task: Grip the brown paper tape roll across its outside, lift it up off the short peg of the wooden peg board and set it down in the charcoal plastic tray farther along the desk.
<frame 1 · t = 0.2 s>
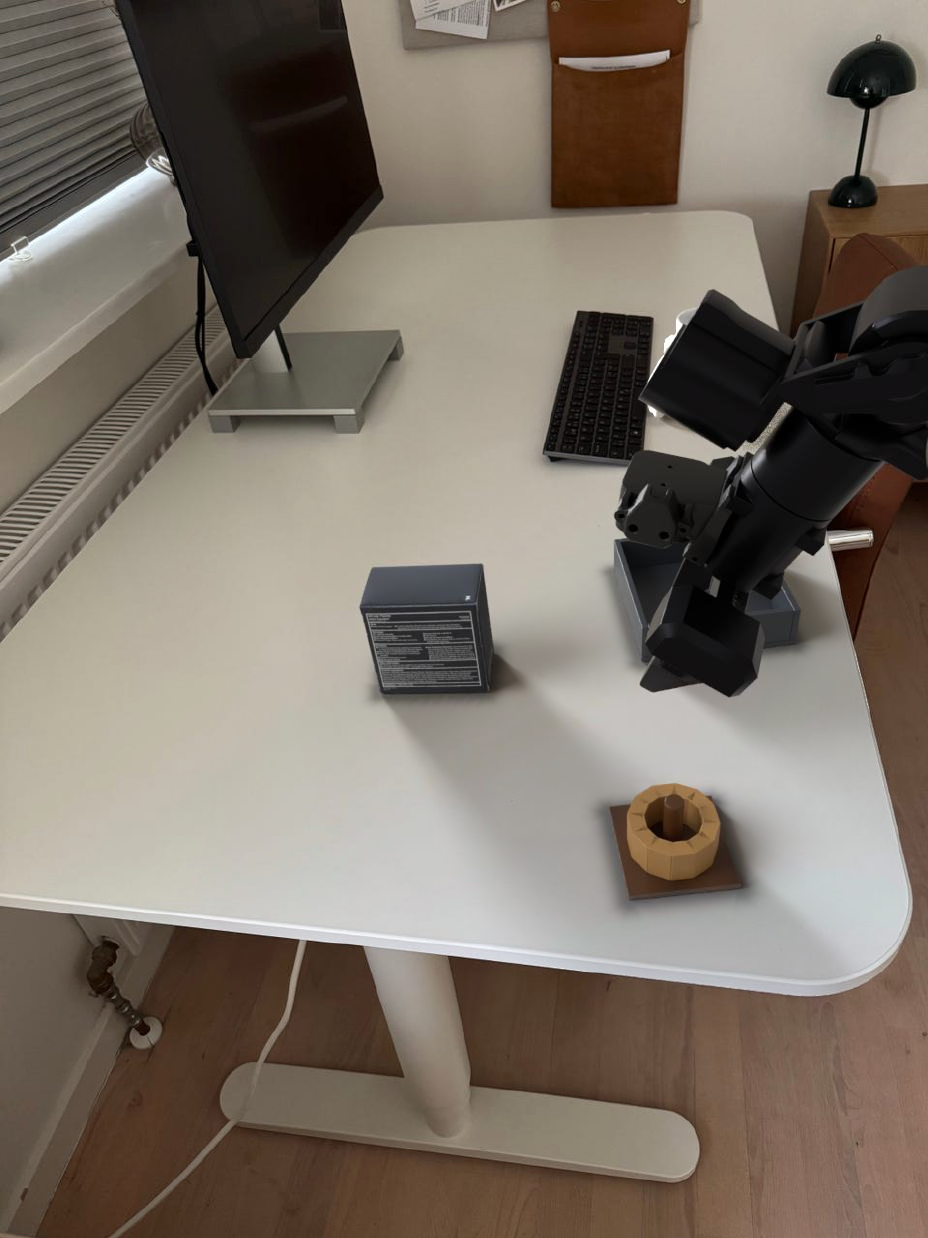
hand: (660, 641, 62), 15 cm above the table, tool tilted 30°, fingers open, 9 cm apart
tray: (698, 605, 88), on the table
teacup: (700, 351, 132), on the table
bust: (671, 406, 120), on the table
small box: (438, 671, 85), on the table
wooden peg board: (671, 848, 67), on the table
tape: (671, 843, 66), point 1 cm above the table, touching wooden peg board
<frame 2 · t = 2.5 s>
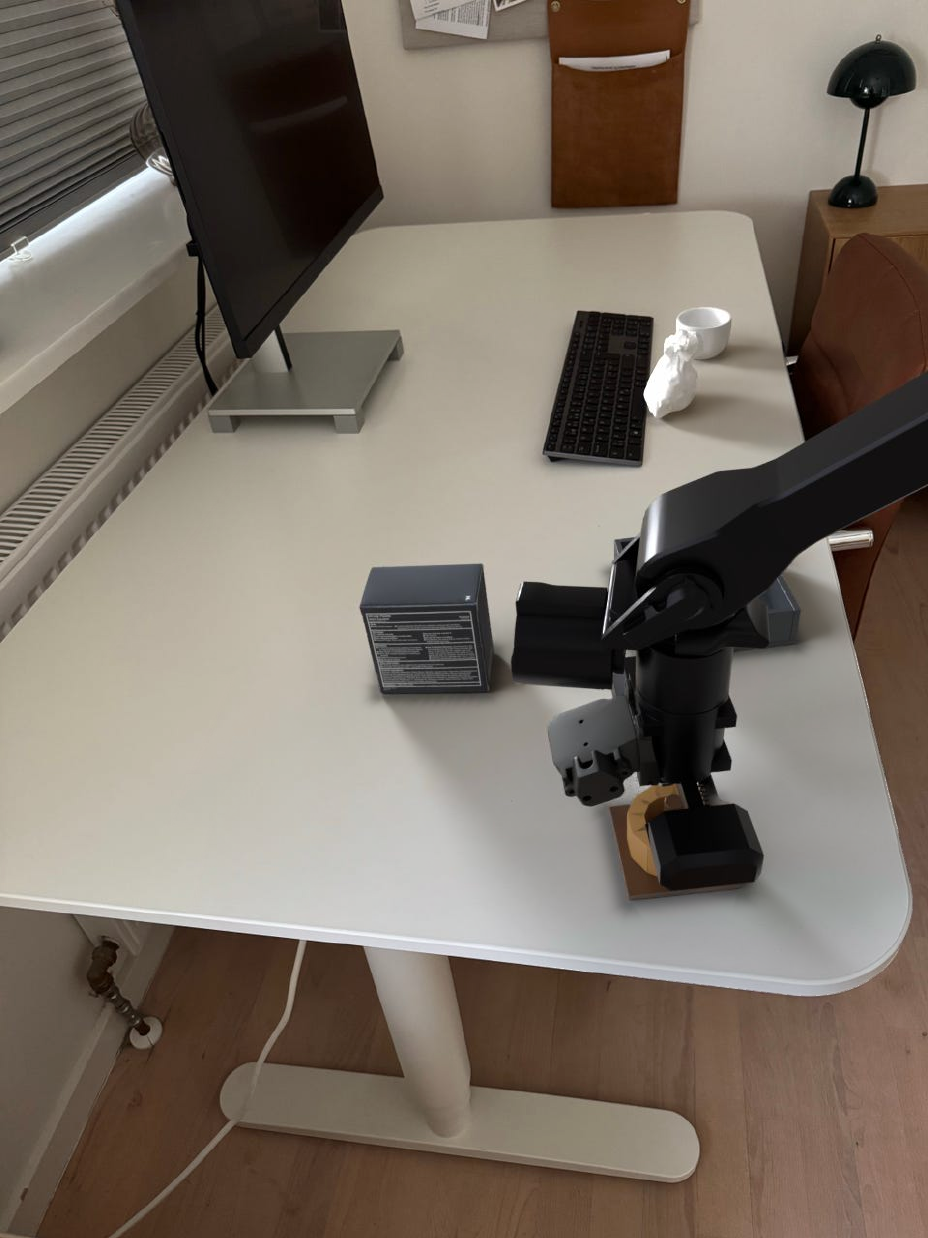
hand: (672, 834, 66), 2 cm above the table, tool pointing down, fingers closed on tape, 6 cm apart
tape: (671, 843, 66), point 1 cm above the table, touching gripper, wooden peg board
everything else where it was.
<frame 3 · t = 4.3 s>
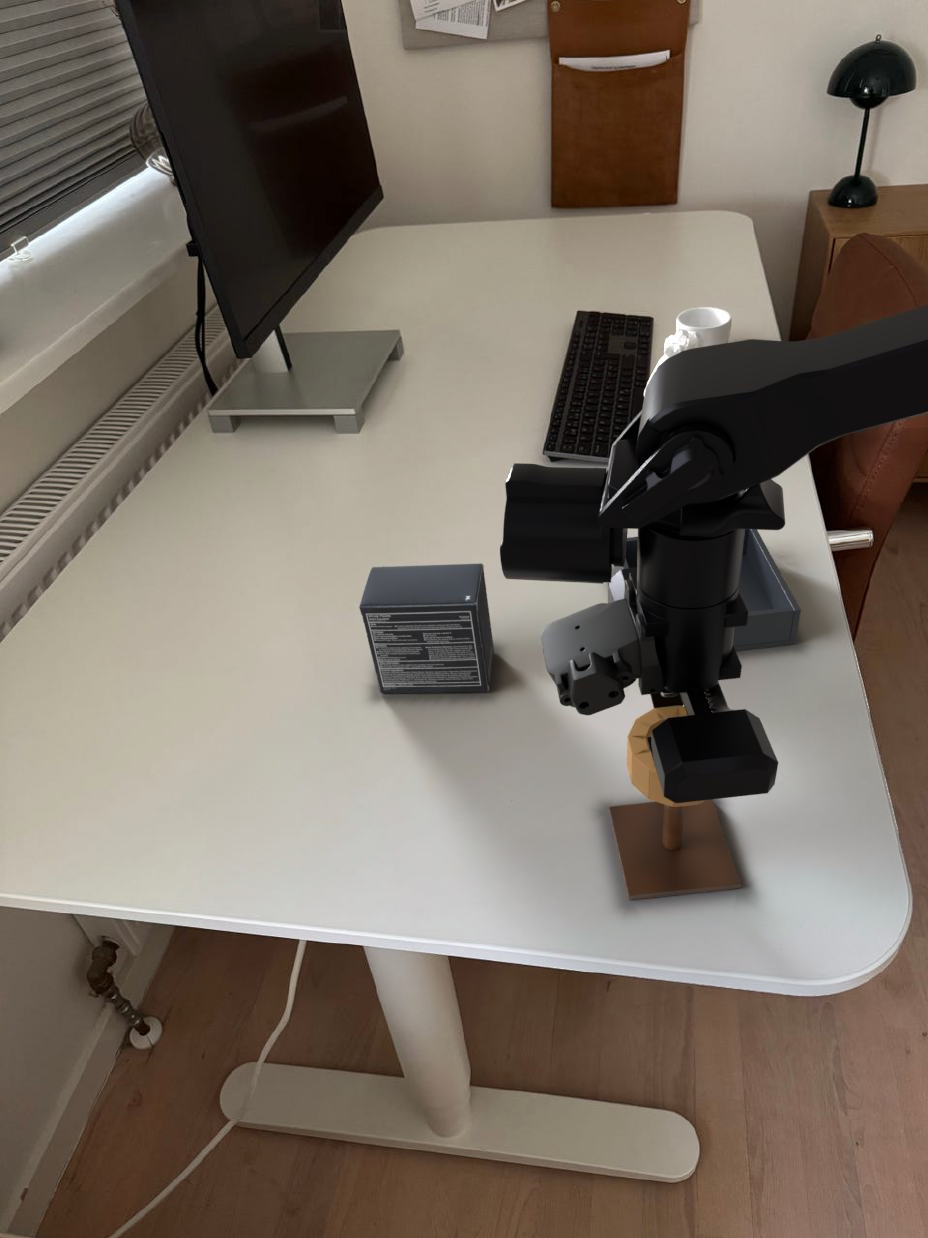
hand: (676, 759, 61), 10 cm above the table, tool pointing down, fingers closed on tape, 6 cm apart
tape: (675, 769, 62), point 9 cm above the table, touching gripper
everything else where it was.
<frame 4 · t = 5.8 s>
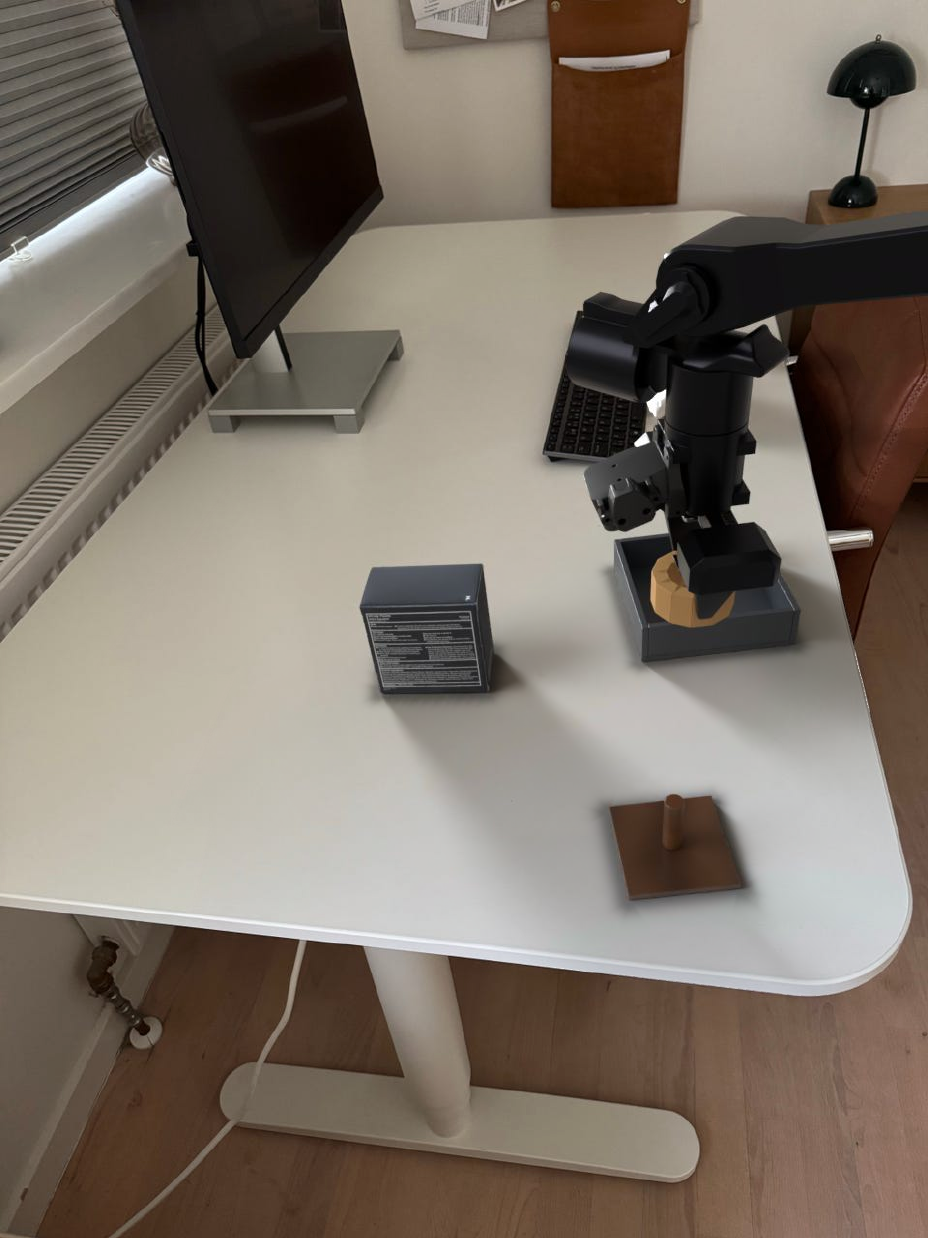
hand: (693, 591, 72), 11 cm above the table, tool pointing down, fingers closed on tape, 6 cm apart
tape: (691, 601, 73), point 10 cm above the table, touching gripper
everything else where it was.
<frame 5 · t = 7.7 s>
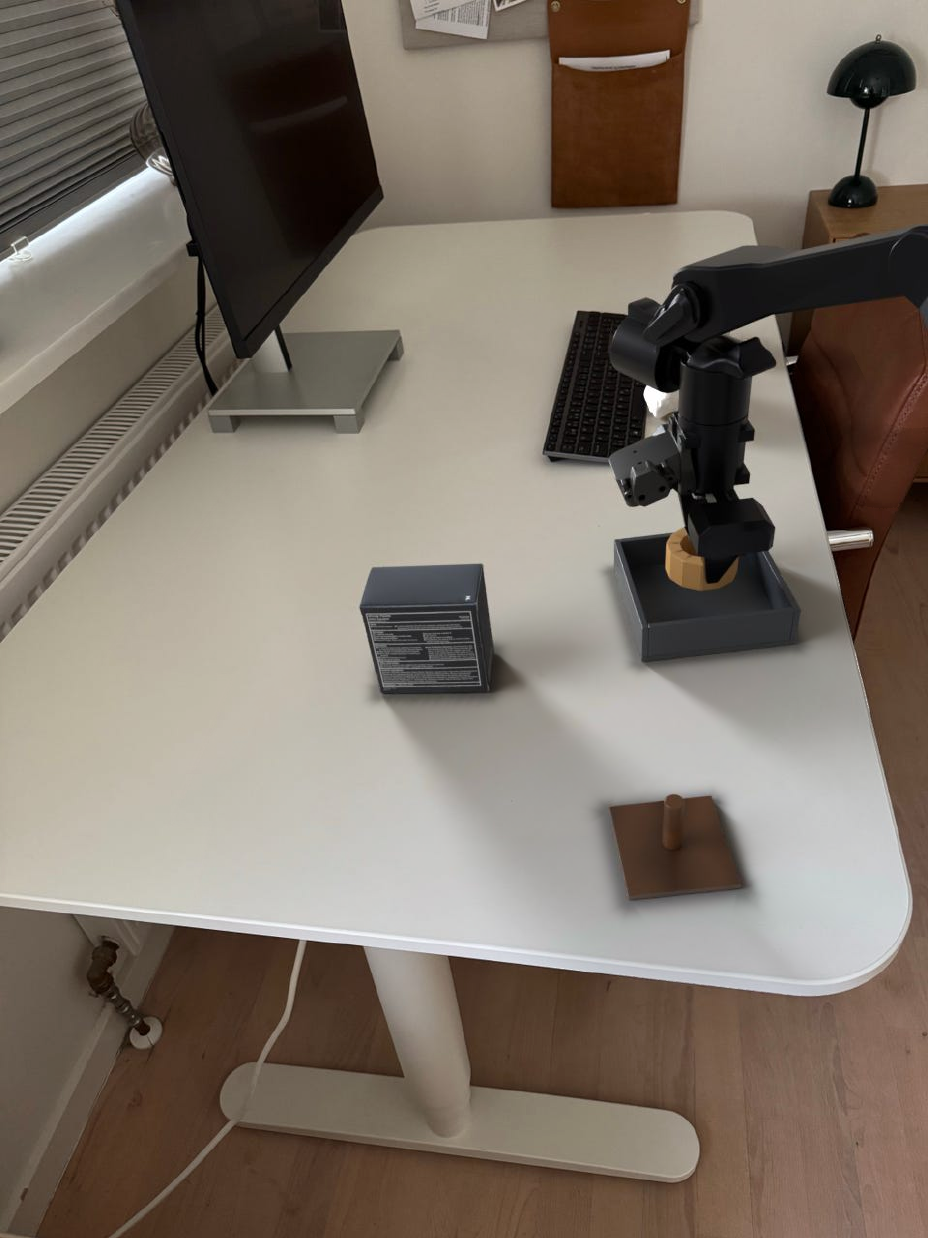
hand: (702, 560, 84), 5 cm above the table, tool pointing down, fingers closed on tape, 6 cm apart
tape: (700, 569, 85), point 4 cm above the table, touching gripper
everything else where it was.
when the fingers open (2 cm above the table, at t = 9.1 s): tape stays where it is, resting on tray.
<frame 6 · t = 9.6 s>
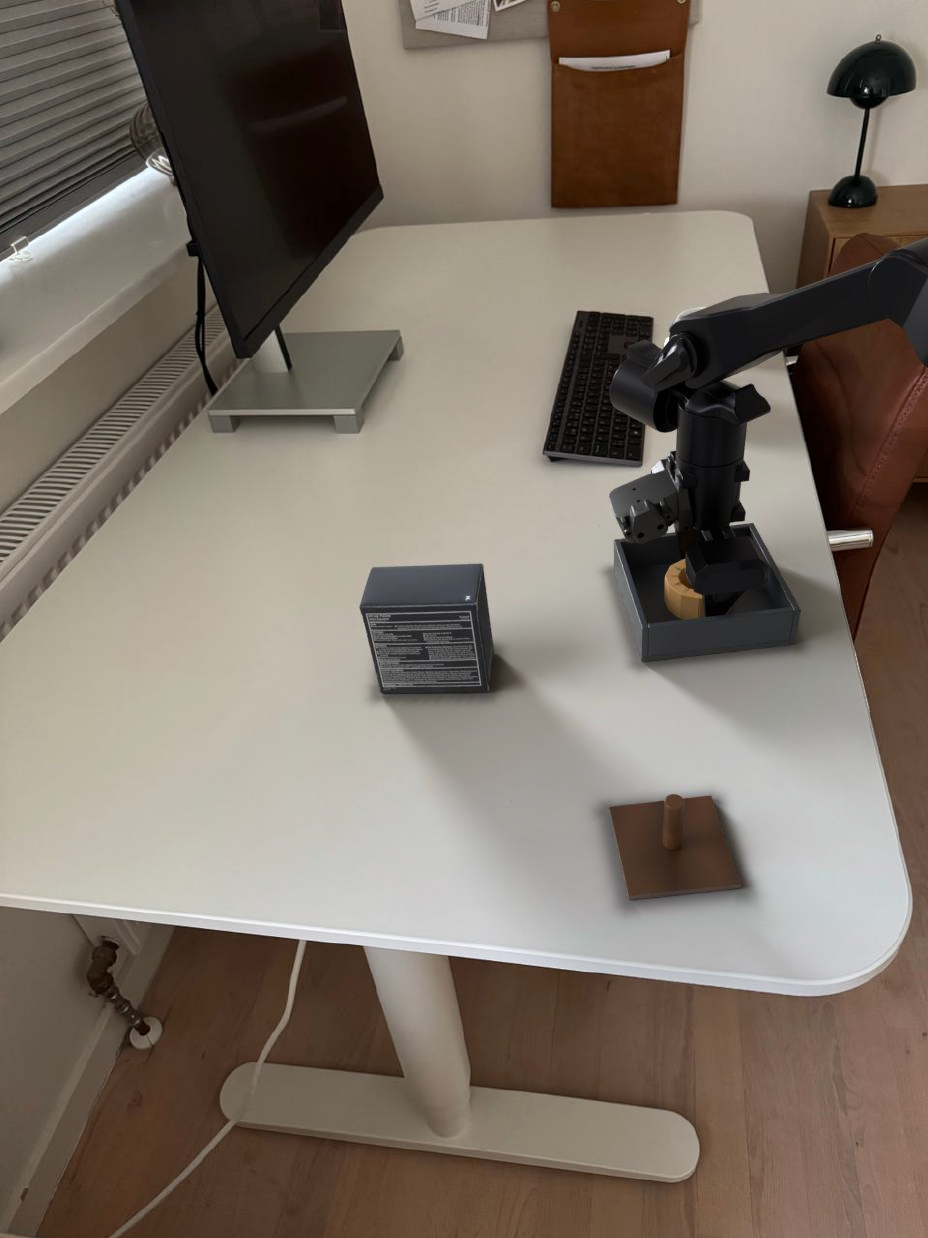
hand: (699, 592, 87), 2 cm above the table, tool pointing down, fingers open, 9 cm apart
tape: (698, 601, 87), point 1 cm above the table, touching tray
everything else where it was.
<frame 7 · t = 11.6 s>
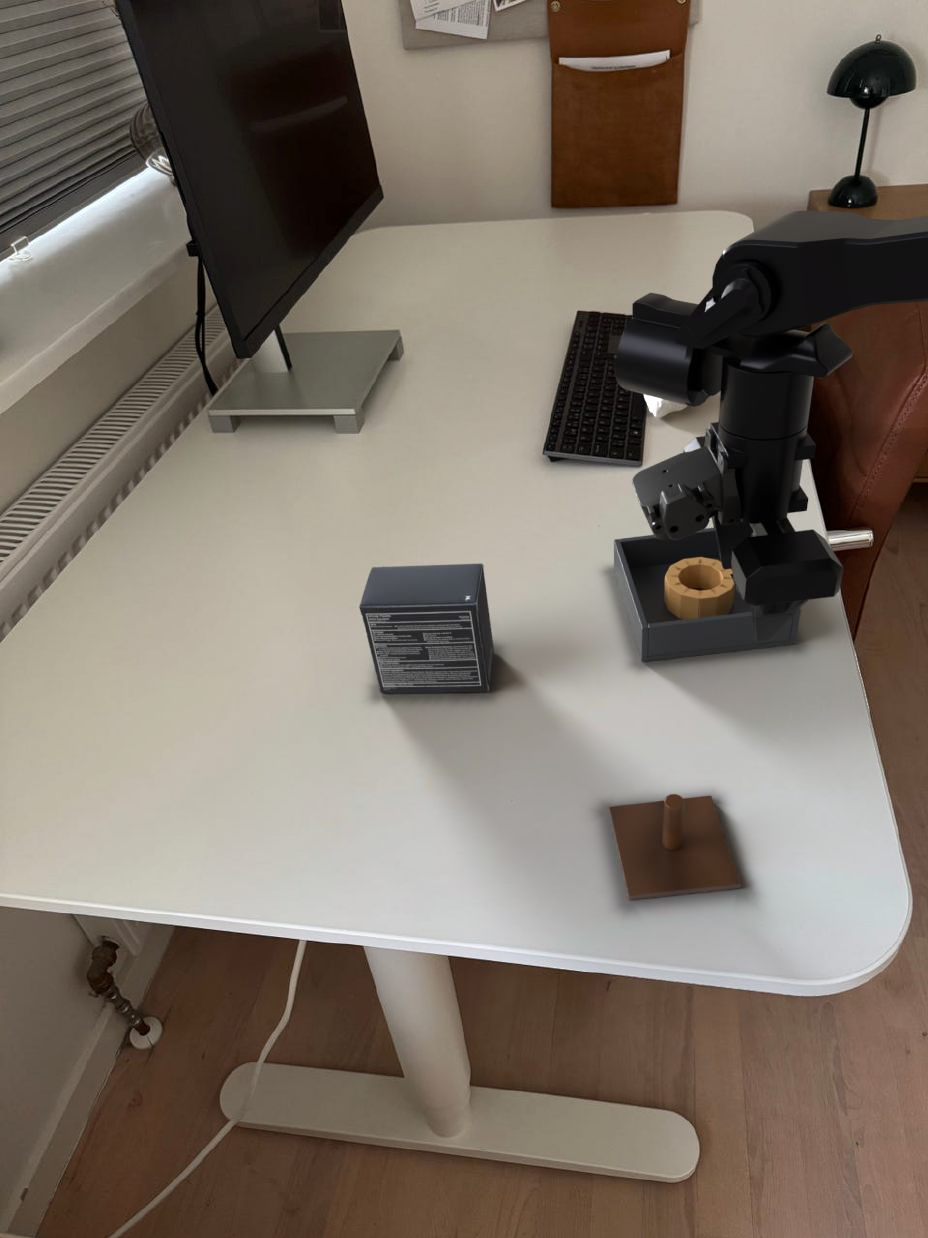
hand: (745, 602, 70), 12 cm above the table, tool pointing down, fingers open, 9 cm apart
nothing on the table moved.
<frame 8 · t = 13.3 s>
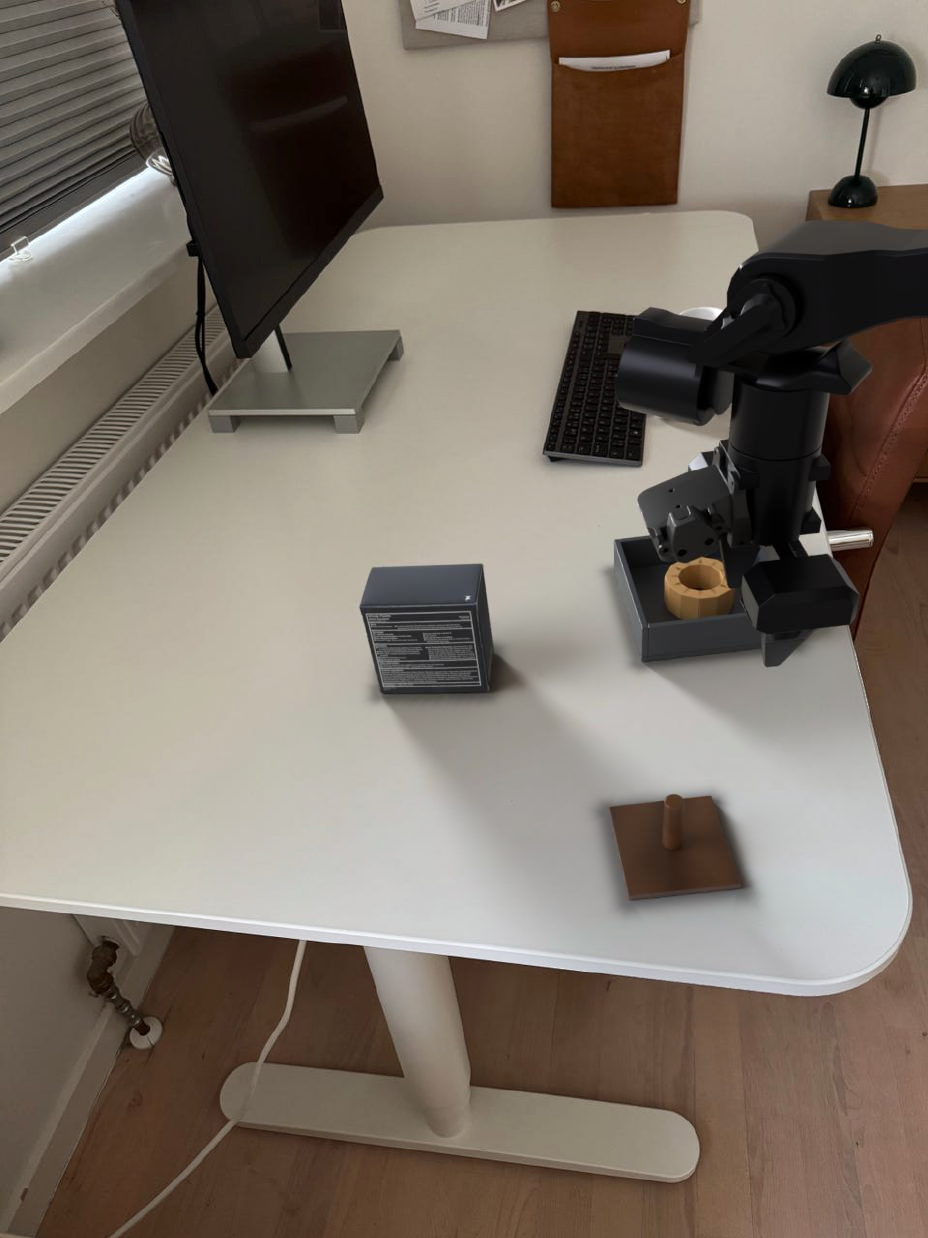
hand: (752, 624, 67), 12 cm above the table, tool pointing down, fingers open, 9 cm apart
nothing on the table moved.
at the end: tape inside the target area in the tray (0.1 cm from its centre), point 0.6 cm above the tray's base; tape touching tray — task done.
